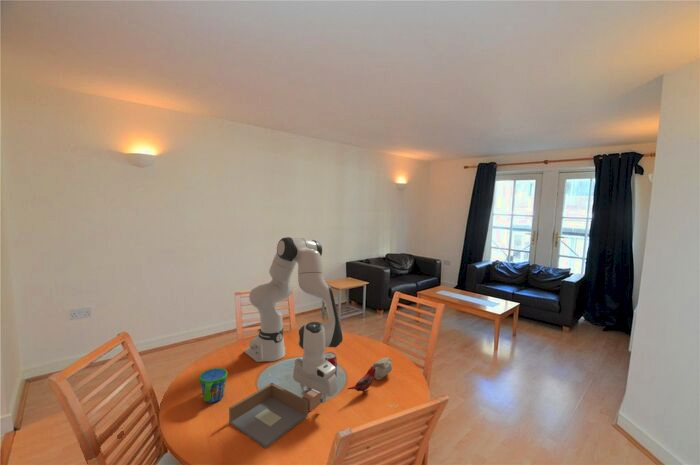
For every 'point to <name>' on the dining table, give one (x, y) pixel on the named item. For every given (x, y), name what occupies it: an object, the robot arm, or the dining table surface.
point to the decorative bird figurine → (365, 381)
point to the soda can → (332, 359)
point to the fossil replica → (382, 368)
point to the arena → (268, 414)
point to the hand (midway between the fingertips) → (313, 397)
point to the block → (312, 399)
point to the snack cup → (213, 384)
